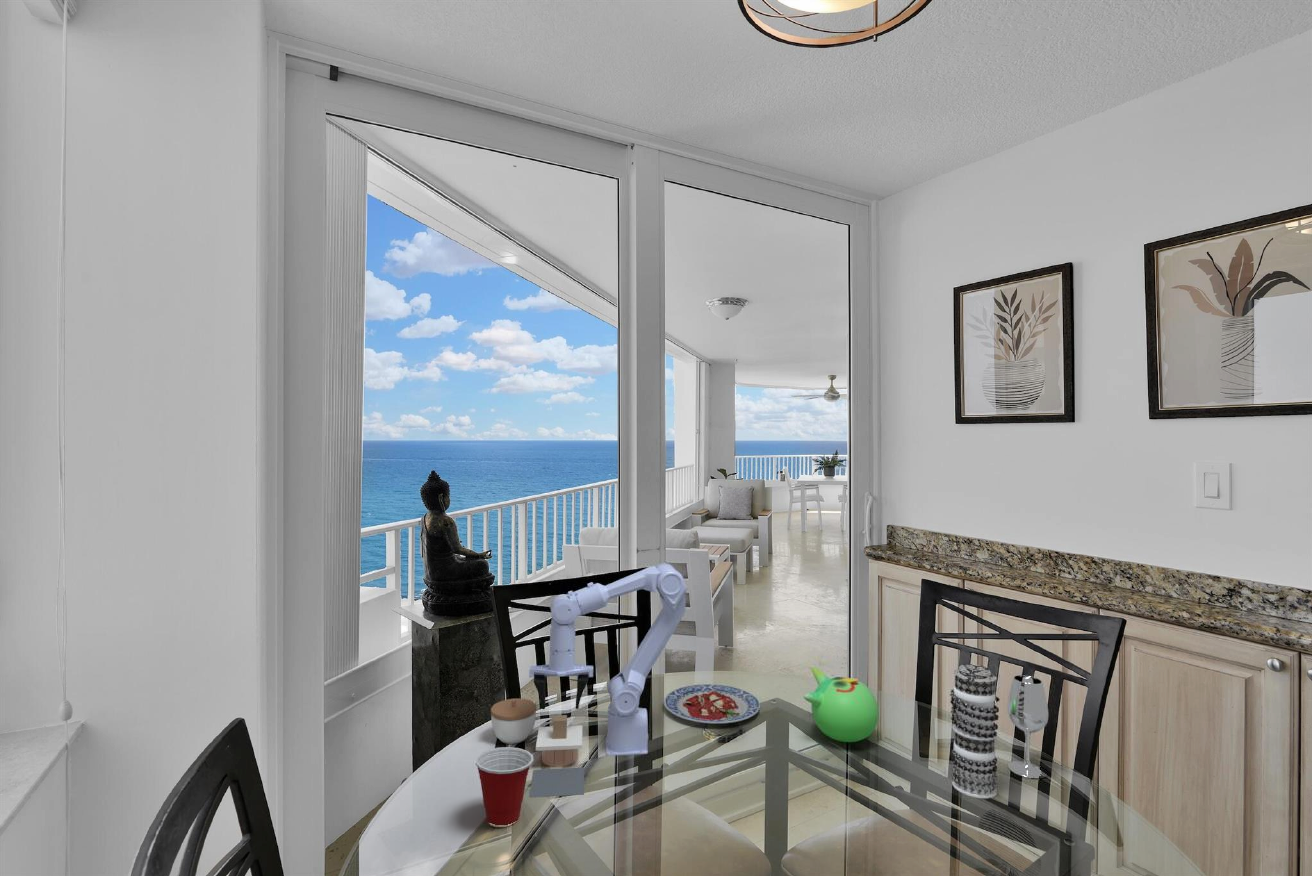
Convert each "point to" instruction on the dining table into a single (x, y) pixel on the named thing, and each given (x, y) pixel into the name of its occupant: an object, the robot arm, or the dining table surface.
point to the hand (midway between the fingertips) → (560, 707)
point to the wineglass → (1027, 717)
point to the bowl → (559, 757)
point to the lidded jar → (513, 719)
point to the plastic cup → (503, 782)
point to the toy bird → (843, 707)
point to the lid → (559, 735)
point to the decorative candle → (974, 731)
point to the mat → (557, 782)
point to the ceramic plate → (711, 703)
